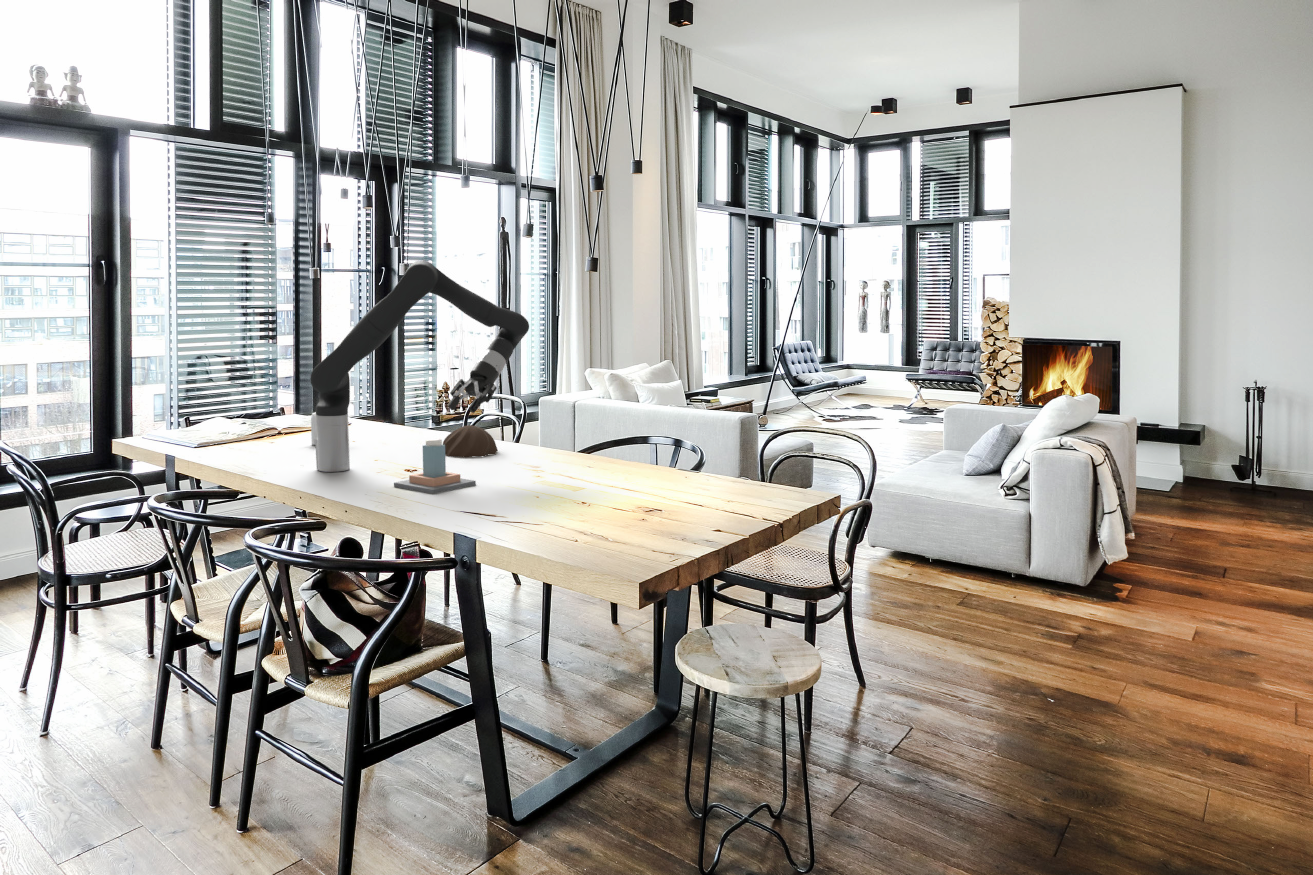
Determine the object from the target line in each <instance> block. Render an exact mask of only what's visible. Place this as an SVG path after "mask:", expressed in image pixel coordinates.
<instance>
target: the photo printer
mask: <svg viewBox="0 0 1313 875" xmlns="http://www.w3.org/2000/svg"><path fill="white" fill-rule="evenodd" d="M310 428H311V445H312V446H316V442H315V440H316V439H317V424H316V411H315V412H312V413H311V418H310Z"/></svg>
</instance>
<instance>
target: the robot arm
mask: <svg viewBox="0 0 1313 875" xmlns="http://www.w3.org/2000/svg"><path fill="white" fill-rule="evenodd" d="M429 293H430V294H433V295H435V296H438V297H440V298H441V299H443V300H445V301H447V302H449V303H450V304H452V305H453V306H455V308H457V309H458V310H459V311H461V312H462V313H463V314H465V315H466V316H468V317H470V318H471V319H473V320H475V321H477V323H480V324H482V325H483V326H486V327H488V328H492V327H499V328H501V329H499V331H498V333H497V335H496V337H495V338H494V340H493V341H491V342H490V345H489V346H488V347H487V349H486V350H485V351H484V353H483V354H482V355H481V356H480V357H479V359H478V360H477V362H476V363H475V365H474V367H473V368H472V369H471V370H470V375H469V379H468V380H466V381H464V379H463V378H461V379H459V380H458V381H457V383H456V384H455V386H454V387H453V388H452V390H451V391H450V395H451V397H452V398H451V400H450V401H449V403H448V405H447V406H448V408H449V409H450V410H451V411H454V410H455V409H456V408H457V407H458V405H459V403H460V401H462V400H463V399H467V398H469V397H473V396H474V397H475V398H474V400H472V402H471V403H470V405H469V407H468V410H469V411H470V412H471V413H472V414H473V413H476V411H477V410H479V407H480V406H481V404H484V403H489V402H490V400H491V398H492V397H493V396H494V394H495V392H496V390H497V386H496V384H495V383H496V381H497V379H498V378H499V376H500V375H501V373H502V372H503V370H504V368H505V366H506V364H507V363H508V361H509V360H510V358H511V356H512V355H513V352H514V350H515V348H516V347H517V346H518V345H519V343H521V340H522V339H523V338H524V337H525V335H527V333H528V331H529V329H530V324H529V321H528V319H526V318H527V317H525V316H523V314H521V313H518V312H517V311H515V310H511V309H507V308H504V307H501V306H498V305H496V304H495V303H493V302H491V301H489V300H488V299H485V298H484V297H483V296H481V295H478V294H477V293H475V292H473V291H471V290H469V289H468V288H465V286H462V285H461V284H459V283H457V282H456V281H454V280H453V279H451V278H450V277H449V276H447V275H446V274H445V273H443V272H442V271H441V270H440V269H439V268H437V267H436V266H435V265H434V264H432V263H431V262H429V261H427V260H423V259H422V260H417V261H414V262H412V263H411V265H409V267H408V268H407V269H406V271H405V273H404V274H403V276H402V277H401V278H400V279H399V281H398V282H397V283H396V285H395V286H394V288H393V289H392V290H391V291H390V292H389V293H388V294H387V295H386V296H384V298H382V299H380V300H379V301H378V302H377V303H376V304H375V305H374V306H372V308H370V309H369V310H368V311H367V312H366V313H365V315H364V316H363V317H361V319H360V320H359V321H358V322H357V323H356V324H355V326H353V328H352V329H351V331H349V332H348V334H347V335H346V336H345V337H344V339H343V340H342V341H341V342H340V343H339V345H338V346H336V348H335V349H334V350H333V351H332V352H330V353H329V354H328V355H327V356H326V357H325V358H324V359H323V360H321V361H320V362H319V363H318V364H317V365H316V366H315V367H314V368H313V369H312V371H311V373H310V377H309V378H310V380H309V381H310V385H311V387H312V388H313V389H314V390H315V391H316V392H318V393H319V400H318V403H317V404H316V406H315V412H316V424H317V439H316V440H315V442H316V445H315V460H316V464H315V465H316V470H318V471H319V472H323V473H325V472H326V473H329V472H331V473H332V472H333V473H335V472H338V473H339V472H344V471H348V470H350V469H351V467H350V466H351V464H350V463H351V462H350V439H349V438H350V436H349V434H350V433H349V431H350V430H349V406H350V401H351V400H350V399H351V397H350V396H351V391H350V390H351V383H350V382H351V381H350V374H349V372H350V371H351V370H352V369H353V368H354V367H355V365H357V364H358V363H359V362H361V361H362V360H363V359H365V358H366V357H367V356H369V355H370V354H372V352H374V351H376V350H377V349H378V348H379V347H381V345H382V344H383V343H384V342H385V341H387V339H388V338H390V336H391V335H392V334H393V332H394V331H396V329H397V327H398V326H399V325H400V323H401V322H402V321H403V319H404V318H405V316H406V315H407V314H408V312H409V311H410V310H411V309H412V307H414V306H415V305H416V304H417V303H418V302H419V301H420V300H422V299H423V298H424V297H425V296H427V295H428V294H429ZM464 390H465V391H464Z"/></svg>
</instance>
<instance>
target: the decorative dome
mask: <svg viewBox="0 0 1313 875" xmlns="http://www.w3.org/2000/svg"><path fill="white" fill-rule="evenodd" d="M442 445H445V456H446V457H450V456H453V457H455V458H456V457H458V458H464V457H465V458H473V457H472V456H484V457H486V456H485V455H487V456H489V455H488V454H495V453H497V452H496V451H498V452H499V450H498V447H497V444H496V441H495V439H494V438H493V436H492V435H491V434H490V433H489V432H488V431H487V430H485V429H483V428H482V427H480V426H475V425H470V424H468V425H464V426H461V427H458V428H457V429H455V430H453V431H452V432H450V434H448V435H447V436H446V437H445V438H444V439H443V440H442ZM495 455H496V454H495Z"/></svg>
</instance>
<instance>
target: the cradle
mask: <svg viewBox="0 0 1313 875" xmlns="http://www.w3.org/2000/svg"><path fill="white" fill-rule="evenodd" d="M408 477H409V478H408V479H406V480H400V481H396V482H393V487H394V488H398V489H403V488H404V490H408V489H409V491H415V492H420V493H427V494H430V495H435V494H439V493H444V492H449V491H454V490H459V489H463V488H467V487H472V486H476V484H477V483H476V480H474V479H473V480H472V479H466V478H461V474H460V473H453V472H448V471H446V476H442V477H437V478H430V477H425V476H423V472H420V473H415V474H410V475H408Z"/></svg>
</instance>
